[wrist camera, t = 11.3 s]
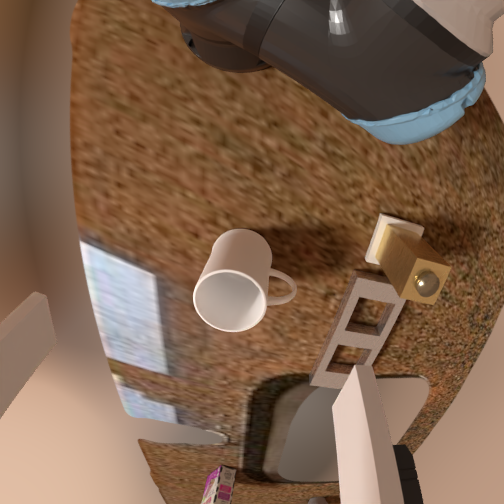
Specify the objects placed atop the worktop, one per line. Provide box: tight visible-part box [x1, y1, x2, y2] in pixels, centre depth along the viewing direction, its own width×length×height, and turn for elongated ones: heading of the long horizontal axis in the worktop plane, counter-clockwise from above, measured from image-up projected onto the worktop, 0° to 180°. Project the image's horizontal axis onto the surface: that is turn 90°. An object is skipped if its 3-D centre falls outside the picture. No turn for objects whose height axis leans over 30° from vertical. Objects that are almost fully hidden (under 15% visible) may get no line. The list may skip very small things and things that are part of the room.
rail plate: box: [309, 269, 406, 389], centre depth 47 cm, size 22×9×2 cm, turn 168°
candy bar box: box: [201, 465, 236, 504], centre depth 65 cm, size 11×5×16 cm, turn 153°
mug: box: [193, 229, 297, 332], centre depth 39 cm, size 12×8×12 cm
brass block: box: [375, 224, 452, 305], centre depth 35 cm, size 5×5×12 cm
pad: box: [365, 213, 424, 265], centre depth 41 cm, size 7×7×1 cm
